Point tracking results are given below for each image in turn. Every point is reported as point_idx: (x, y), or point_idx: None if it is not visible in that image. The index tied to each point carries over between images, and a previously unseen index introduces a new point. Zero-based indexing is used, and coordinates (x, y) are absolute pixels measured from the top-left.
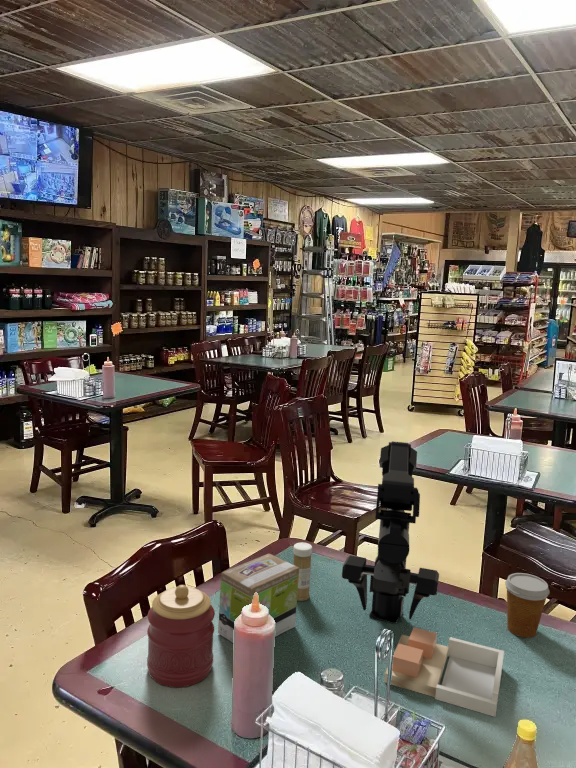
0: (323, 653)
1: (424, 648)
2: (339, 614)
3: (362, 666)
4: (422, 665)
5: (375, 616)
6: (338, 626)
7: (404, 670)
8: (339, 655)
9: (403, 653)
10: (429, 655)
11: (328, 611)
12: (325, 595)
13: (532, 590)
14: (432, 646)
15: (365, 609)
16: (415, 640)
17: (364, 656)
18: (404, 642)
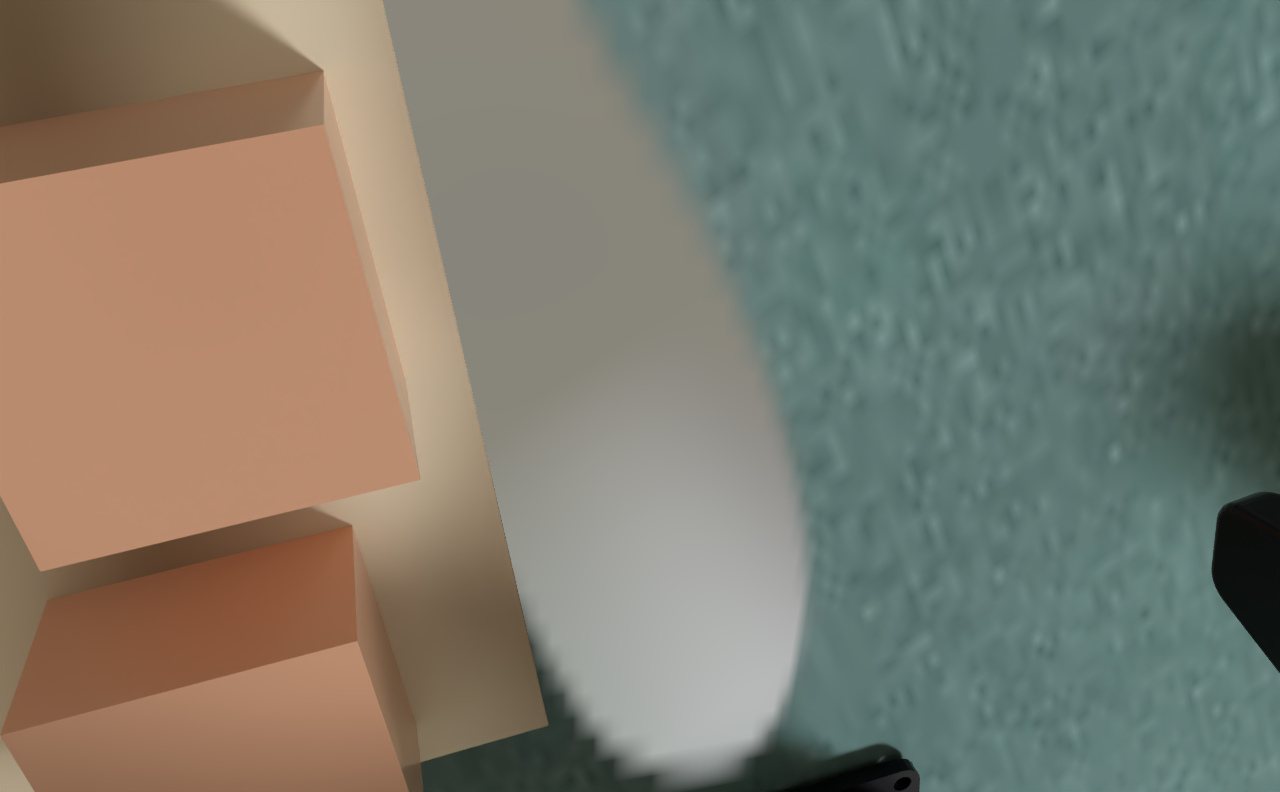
0: (1154, 21)
1: (132, 649)
2: (1131, 631)
3: (717, 71)
4: None
5: (865, 785)
6: (1106, 496)
7: (131, 116)
8: (996, 98)
9: (231, 310)
10: (71, 615)
11: (1219, 606)
12: (1270, 742)
13: None
14: (11, 721)
15: (1228, 525)
16: (265, 673)
17: (760, 252)
18: (467, 642)
